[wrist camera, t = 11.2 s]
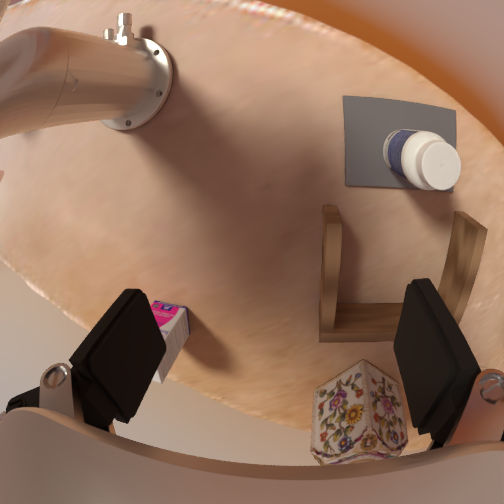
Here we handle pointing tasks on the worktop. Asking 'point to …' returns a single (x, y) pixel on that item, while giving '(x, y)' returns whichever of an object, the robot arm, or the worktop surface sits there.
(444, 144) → the pill bottle
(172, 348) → the supplement box
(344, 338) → the open box
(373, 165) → the mat
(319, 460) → the decorative jar
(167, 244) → the worktop surface
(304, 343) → the worktop surface
